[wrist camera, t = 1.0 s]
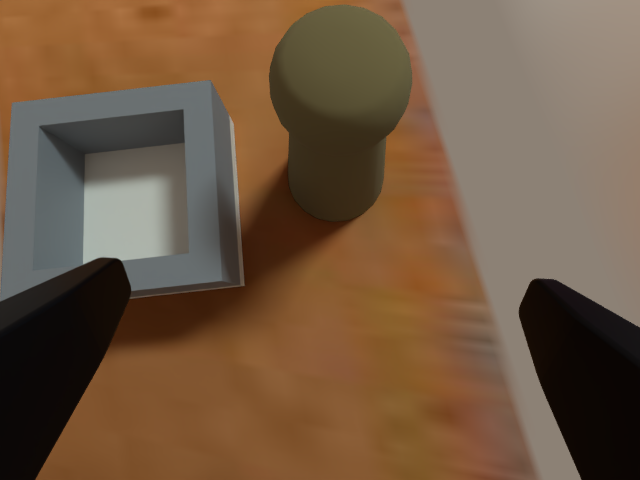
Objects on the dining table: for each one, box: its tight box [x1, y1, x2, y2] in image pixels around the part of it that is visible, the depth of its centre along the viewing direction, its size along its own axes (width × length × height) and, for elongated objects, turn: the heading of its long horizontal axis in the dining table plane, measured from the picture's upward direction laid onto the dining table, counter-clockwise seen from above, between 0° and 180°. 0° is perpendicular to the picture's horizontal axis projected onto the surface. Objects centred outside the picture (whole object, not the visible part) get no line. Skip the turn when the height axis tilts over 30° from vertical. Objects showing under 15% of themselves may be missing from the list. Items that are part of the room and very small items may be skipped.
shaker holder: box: [0, 80, 245, 301], centre depth 20 cm, size 11×11×4 cm
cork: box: [269, 5, 412, 222], centre depth 17 cm, size 6×6×11 cm
